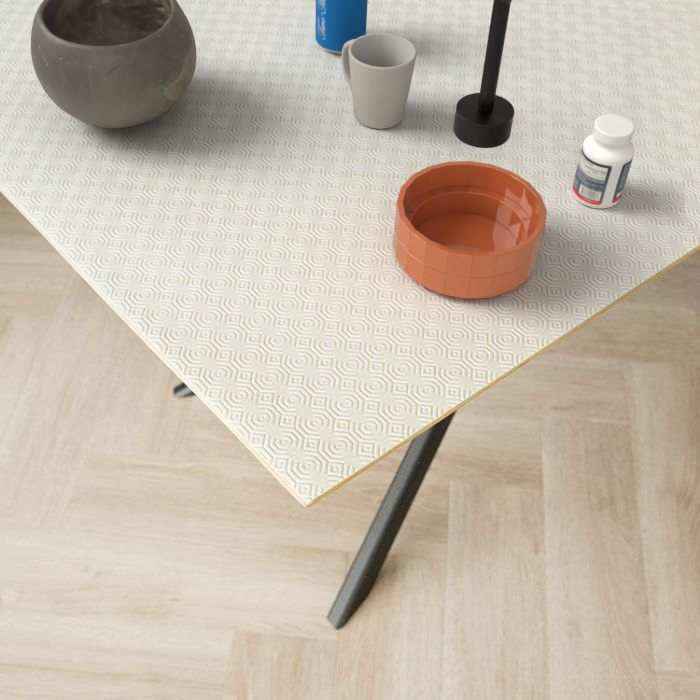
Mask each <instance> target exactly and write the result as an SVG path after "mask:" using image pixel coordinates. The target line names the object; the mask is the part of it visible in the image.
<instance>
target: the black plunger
mask: <svg viewBox="0 0 700 700" xmlns="http://www.w3.org/2000/svg"><path fill="white" fill-rule="evenodd" d="M511 4H512V2H511V3H510V4H506V3H504V2H501V1H500V0H493V3H492V9H491V16H490V24H489V29H488V35H487V42H486V50H485V56H484V61H483V68H482V76H481V82H480V87H479V88H480V89H479V92H473V93H470V94H467V95H464V96H463V97H460V99H458V101H457V103H456V107H455V112H454V120H453V128H452V129H453V130H452V131H453V134H454V136H455V137H456V138H457V139H458V140H459V141H460V142H462V143H463V144H465V145H467V146H471V147H474V148H479V149H492V148H497V147H500V146H502V145H504V144H506V143H507V142H508V140H509V139H510V138H511V133H512V128H513V124H514V123H513V122H514V117H515V107H514V106H513V104H512V103H511V102H510V101H509V100H507V99H506V98H505V97H503V96H500V95H498V94H497V89H498V83H499V77H500V72H501V71H500V70H501V65H502V59H503V53H504V47H505V40H506V34H507V30H508V29H507V28H508V23H509V18H510V17H509V16H510V10H511V6H512V5H511Z"/></svg>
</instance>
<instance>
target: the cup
mask: <svg viewBox="0 0 700 700" xmlns="http://www.w3.org/2000/svg"><path fill="white" fill-rule="evenodd" d="M417 55H418V51H417V48H416V46H415V45H414V44H413V42H412V41H410V40H409V39H408V38H405V37H403V36H401V35H397V34H393V33H386V32H373V33H366V35H364V36H361V37H359V38H357V39H352V40H350V41H348V42H346V43H345V44H344V46H343V49H342V54H341V57H340V58H341V68H342V71H343V75H344V77H345V80H346V82H347V84H348V86H349V88H350V89H351V93H352V94H351V95H352V103H353V110H354V117H355V119H356V120H357V121H358V122H359V123H360V124H361V125H363V126H365V127H368V128H371V129H378V130H382V129H383V130H385V129H389V128H392V127H395V126H397V125H398V124H400V123H401V122H402V120H403V117H404V114H405V109H406V107H407V106H406V105H407V101H408V97H409V93H410V89H411V85H412V79H413V74H414V69H415V65H416V59H417Z"/></svg>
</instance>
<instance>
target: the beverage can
mask: <svg viewBox="0 0 700 700" xmlns="http://www.w3.org/2000/svg"><path fill="white" fill-rule="evenodd" d="M368 2H369V1H368V0H315V41H316V43H317V44H318V46H319V47H321V48H322V49H324V50H325V51H327V52H329V53H331V54H336V55H342V49H343V46H344V44H345V43H346V42H348V41H350V40H352V39H357V38H359V37H361V36H364V35H367V24H368V23H367V22H368Z"/></svg>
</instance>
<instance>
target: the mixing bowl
mask: <svg viewBox="0 0 700 700" xmlns="http://www.w3.org/2000/svg"><path fill="white" fill-rule="evenodd" d="M395 204H396V205H395V215H394V216H395V217H394V231H393V240H392V243H393V244H392V245H393V251H394V256H395V259H396V261H397V262H398V264H399V265H400V267H401V269H402V270H403V271H404V273H406V275H407V276H409V277H410V278H411V279H412V280H414V281H415V282H417V284H419V285H421V286H422V287H423V288H427V289H429V290H431V291H433V292H435V293H437V294H441V295H444V296H449V297H456V298H460V299H467V300H468V299H485V298H486V299H489V298H493V297H497V296H500V295H503V294H506V293H510V292H511V291H513V290H515V289H517V288H518V287H519V286H520V285H522V284H523V283H525V282H527V280H528V278H529V277H530V275H532V272H533V271H534V270H535V268H536V265H537V262H538V261H537V260H538V257H539V253H540V249H541V244H542V241H543V236H544V232H545V228H546V223H547V222H546V221H547V214H548V212H547V207H546V205H545V202H544V199H543V197H542V195H541V194H540V193H539V192H538V191H537V189H536V188H535V187H534V186H533V185H532V184H531V183H530V182H529V181H527V180H526V179H525V178H523V177H521V176H520V175H518V174H516V173H515V172H513V171H512V170H509V169H506V168H503V167H501V166H498V165H495V164H491V163H486V162H479V161H472V160H458V161H445V162H440V163H437V164H433V165H429V166H426V167H425V168H423V169H421V170H419V171H417V172H415V173H413V174H411V176H410V177H409V178H408V179H407V180H406V181H405V182H404V183H403V185H402V186H401V187H400V189H399V191H398V195H397V199H396V203H395Z"/></svg>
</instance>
